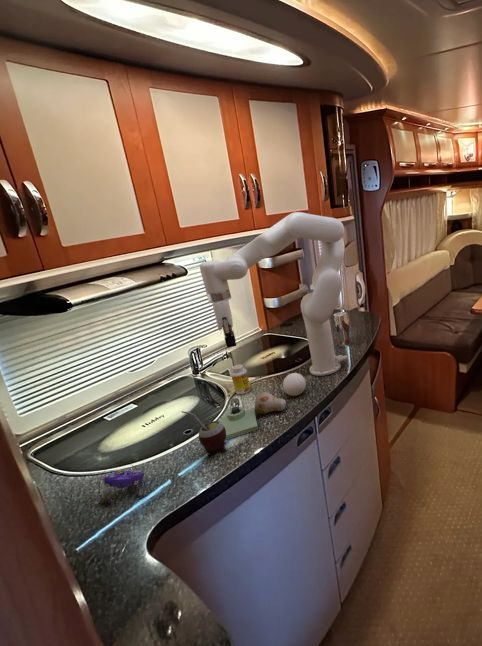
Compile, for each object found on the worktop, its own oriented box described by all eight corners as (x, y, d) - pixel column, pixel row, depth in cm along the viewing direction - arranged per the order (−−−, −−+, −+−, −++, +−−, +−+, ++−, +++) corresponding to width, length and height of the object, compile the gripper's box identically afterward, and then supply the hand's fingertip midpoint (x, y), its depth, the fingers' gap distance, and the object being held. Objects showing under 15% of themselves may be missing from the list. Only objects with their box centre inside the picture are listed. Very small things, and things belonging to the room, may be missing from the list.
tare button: (239, 409, 123) (238, 405, 122) (240, 413, 120) (239, 408, 120) (232, 411, 122) (231, 407, 121) (232, 415, 120) (231, 411, 119)
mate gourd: (234, 443, 109) (222, 398, 105) (215, 462, 102) (201, 414, 98) (215, 440, 112) (202, 396, 108) (194, 458, 105) (180, 411, 101)
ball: (281, 400, 130) (276, 379, 128) (290, 388, 138) (286, 369, 135) (302, 400, 129) (298, 379, 126) (310, 388, 136) (306, 368, 134)
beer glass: (338, 348, 170) (333, 317, 165) (336, 343, 176) (331, 313, 172) (353, 345, 171) (348, 314, 166) (351, 340, 177) (346, 310, 173)
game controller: (150, 457, 101) (143, 472, 92) (147, 487, 101) (140, 506, 92) (106, 460, 98) (95, 476, 88) (104, 491, 98) (91, 511, 88)
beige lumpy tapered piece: (287, 415, 121) (265, 396, 117) (265, 426, 124) (244, 408, 120) (292, 398, 127) (272, 380, 123) (271, 409, 130) (251, 391, 126)
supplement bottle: (247, 394, 138) (240, 369, 135) (233, 395, 139) (226, 370, 136) (253, 387, 143) (247, 362, 140) (239, 387, 144) (233, 363, 141)
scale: (254, 410, 126) (252, 402, 125) (258, 429, 115) (256, 421, 114) (220, 420, 122) (218, 412, 122) (220, 441, 111) (218, 433, 110)
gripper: (208, 293, 136) (220, 340, 142) (207, 303, 121) (220, 354, 126) (229, 289, 139) (240, 335, 144) (231, 298, 124) (243, 349, 129)
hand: (231, 343), depth 135 cm, fingers open, 4 cm apart
